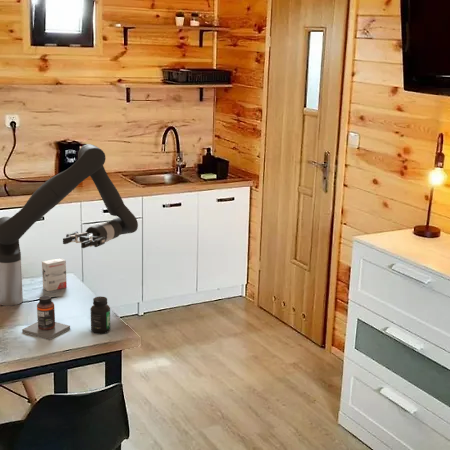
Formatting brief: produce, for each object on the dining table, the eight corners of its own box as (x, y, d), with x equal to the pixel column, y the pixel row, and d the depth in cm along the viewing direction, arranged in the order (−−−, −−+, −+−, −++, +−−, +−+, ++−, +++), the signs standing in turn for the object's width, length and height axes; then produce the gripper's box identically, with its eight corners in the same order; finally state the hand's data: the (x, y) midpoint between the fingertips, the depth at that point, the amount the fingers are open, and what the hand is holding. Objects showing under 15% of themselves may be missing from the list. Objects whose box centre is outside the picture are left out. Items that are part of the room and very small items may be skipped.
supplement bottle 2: (113, 332, 249) (113, 300, 246) (95, 336, 245) (95, 303, 242) (105, 325, 255) (105, 294, 252) (87, 329, 251) (87, 297, 248)
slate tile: (22, 332, 246) (22, 329, 246) (43, 321, 256) (43, 318, 255) (49, 339, 241) (49, 336, 241) (70, 328, 251) (70, 325, 250)
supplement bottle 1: (48, 322, 252) (47, 292, 249) (58, 327, 249) (57, 297, 246) (34, 327, 248) (33, 297, 245) (44, 332, 244) (43, 301, 241)
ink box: (61, 284, 294) (60, 257, 291) (67, 287, 291) (66, 260, 288) (42, 288, 289) (41, 260, 286) (47, 291, 285) (46, 264, 282)
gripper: (85, 221, 274) (57, 230, 260) (115, 227, 267) (88, 236, 253) (85, 240, 276) (57, 250, 262) (115, 246, 269) (88, 256, 255)
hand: (72, 243), depth 258 cm, fingers open, 8 cm apart
